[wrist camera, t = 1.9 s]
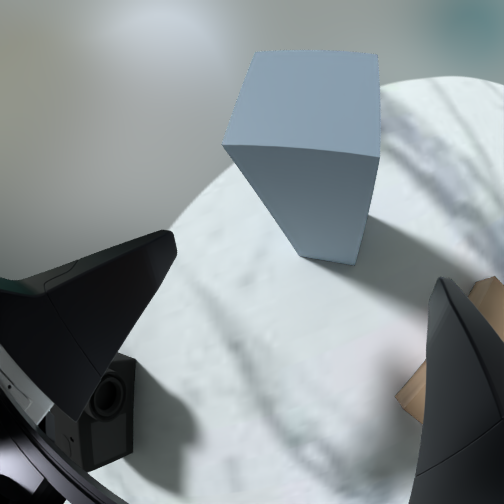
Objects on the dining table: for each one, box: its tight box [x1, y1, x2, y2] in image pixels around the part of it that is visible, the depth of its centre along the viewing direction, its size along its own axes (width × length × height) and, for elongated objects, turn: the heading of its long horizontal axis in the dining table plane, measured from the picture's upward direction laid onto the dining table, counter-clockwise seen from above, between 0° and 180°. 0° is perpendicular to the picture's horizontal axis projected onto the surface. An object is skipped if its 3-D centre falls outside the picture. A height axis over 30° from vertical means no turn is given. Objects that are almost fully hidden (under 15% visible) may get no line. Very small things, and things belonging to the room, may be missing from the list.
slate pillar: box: [222, 50, 380, 266], centre depth 13 cm, size 4×4×14 cm
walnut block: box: [395, 276, 504, 424], centre depth 12 cm, size 10×10×3 cm
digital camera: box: [50, 352, 136, 473], centre depth 19 cm, size 10×5×7 cm, turn 172°
